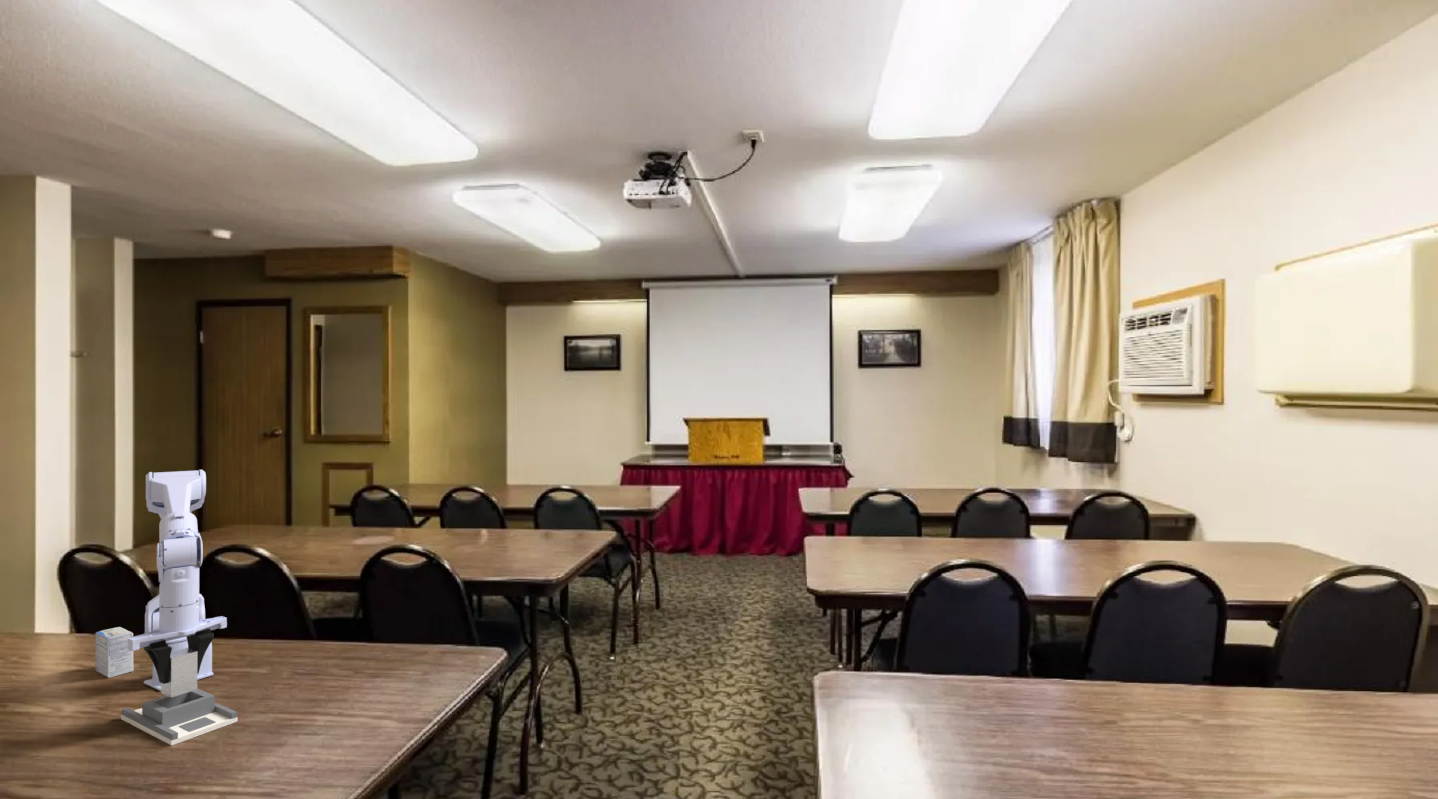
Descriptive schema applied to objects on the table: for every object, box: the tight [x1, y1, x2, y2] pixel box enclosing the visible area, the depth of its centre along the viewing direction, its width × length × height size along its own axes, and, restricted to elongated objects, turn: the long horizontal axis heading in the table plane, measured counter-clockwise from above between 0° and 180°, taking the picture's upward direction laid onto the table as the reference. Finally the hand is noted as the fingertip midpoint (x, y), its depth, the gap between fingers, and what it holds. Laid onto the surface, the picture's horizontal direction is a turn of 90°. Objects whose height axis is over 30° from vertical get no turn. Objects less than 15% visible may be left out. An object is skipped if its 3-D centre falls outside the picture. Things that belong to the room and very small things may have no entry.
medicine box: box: [94, 626, 134, 679], centre depth 146 cm, size 8×4×9 cm, turn 58°
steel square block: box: [160, 648, 198, 697], centre depth 123 cm, size 4×4×7 cm
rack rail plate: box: [120, 687, 239, 746], centre depth 123 cm, size 10×20×4 cm, turn 60°
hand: (179, 677), depth 123 cm, fingers closed on steel square block, 4 cm apart
